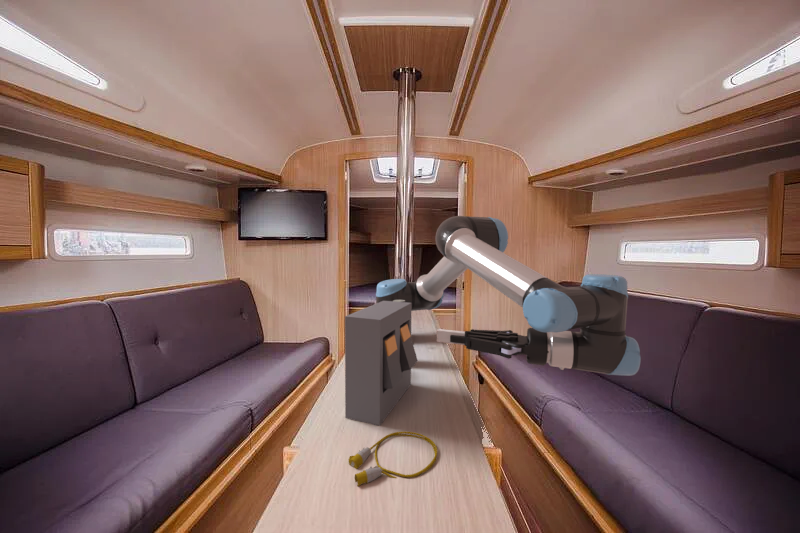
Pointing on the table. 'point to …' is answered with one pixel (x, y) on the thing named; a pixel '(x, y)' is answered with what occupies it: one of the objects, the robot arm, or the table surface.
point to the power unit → (372, 360)
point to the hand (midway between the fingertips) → (437, 335)
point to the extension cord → (376, 471)
